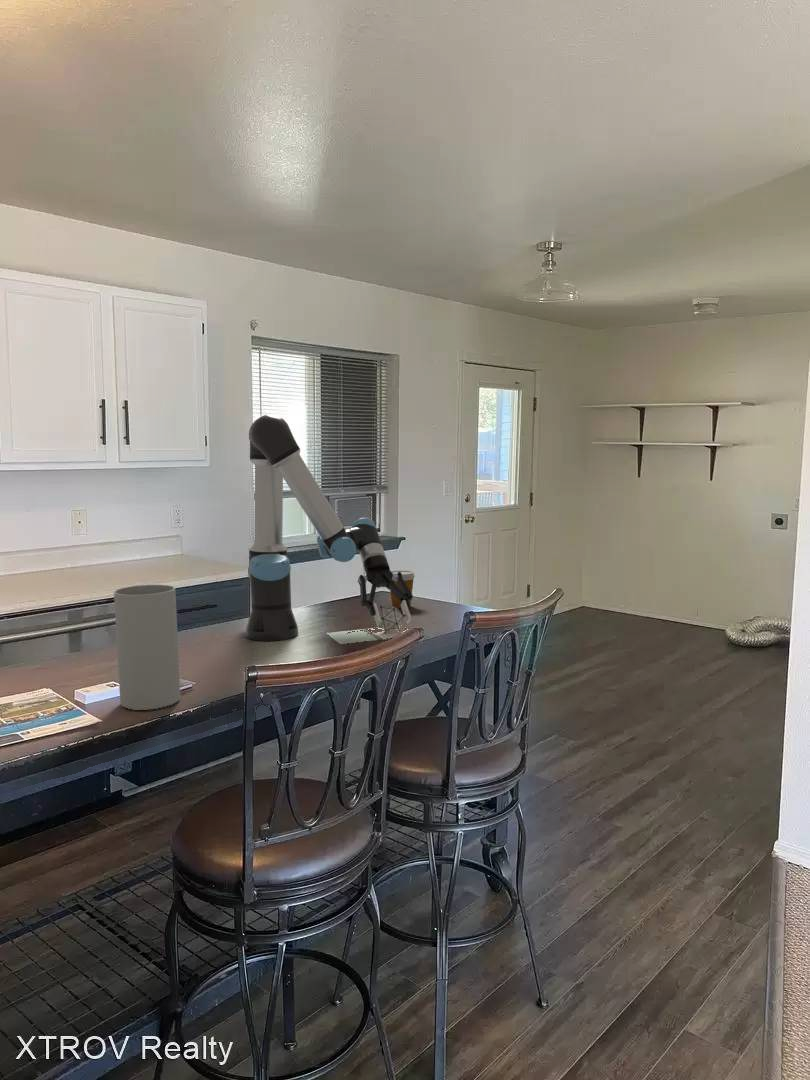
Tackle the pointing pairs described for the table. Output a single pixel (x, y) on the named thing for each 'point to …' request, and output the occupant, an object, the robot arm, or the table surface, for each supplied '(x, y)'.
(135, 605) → the cylinder vase
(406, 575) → the disposable coffee cup
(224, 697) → the table surface
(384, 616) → the game die
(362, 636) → the game board
